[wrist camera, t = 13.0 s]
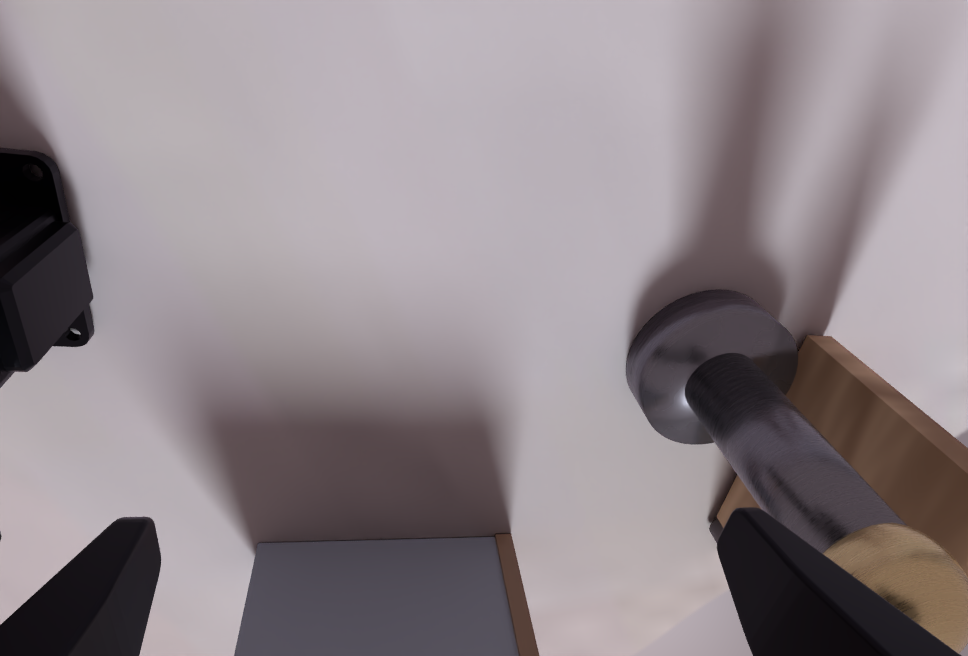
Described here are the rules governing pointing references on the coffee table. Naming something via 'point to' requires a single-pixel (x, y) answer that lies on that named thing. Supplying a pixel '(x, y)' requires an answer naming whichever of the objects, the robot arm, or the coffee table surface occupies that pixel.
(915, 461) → the door
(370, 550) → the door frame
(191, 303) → the coffee table surface
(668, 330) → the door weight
